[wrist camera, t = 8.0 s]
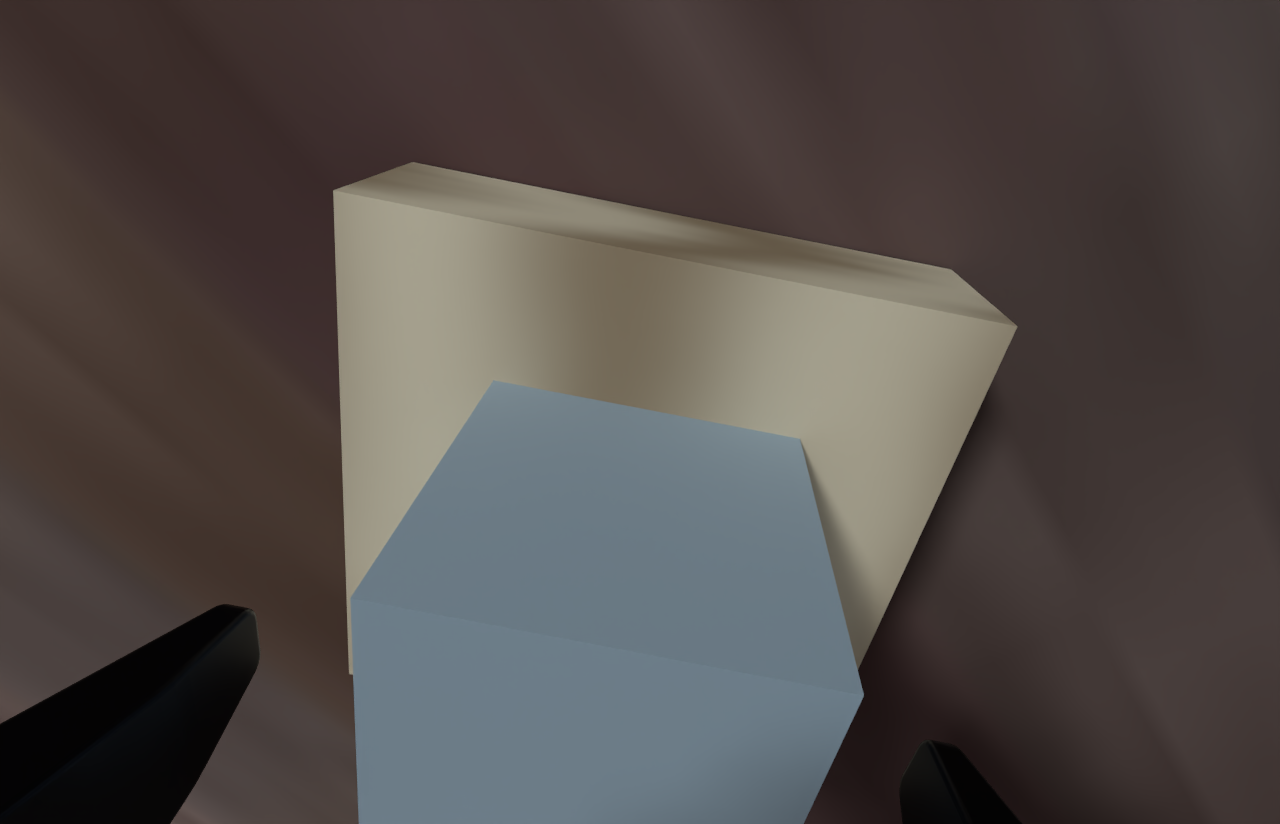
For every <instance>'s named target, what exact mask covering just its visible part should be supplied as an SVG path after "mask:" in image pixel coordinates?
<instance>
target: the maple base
mask: <svg viewBox="0 0 1280 824" xmlns="http://www.w3.org/2000/svg"><path fill="white" fill-rule="evenodd" d="M333 195H334V225H335V256H336V286H337V317H338V347H339V378H340V408H341V439H342V469H343V500H344V530H345V561H346V591H347V622H348V652H349V674H352V675H353V654H352V628H351V601H350V598H351V596H352V595H353V593H354V592H355V590H356V589H357V587H358V586H359V584H360V583H361V581H362V580H363V578H364V577H365V575H366V574H367V572H368V570H369V569H370V567H371V566H372V564H373V563H374V561H375V560H376V558H377V557H378V555H379V554H380V552H381V551H382V549H383V548H384V546H385V545H386V543H387V542H388V540H389V538H390V537H391V535H392V534H393V532H394V531H395V529H396V528H397V526H398V525H399V523H400V522H401V520H402V519H403V517H404V516H405V514H406V513H407V511H408V510H409V508H410V507H411V505H412V503H413V502H414V500H415V499H416V497H417V496H418V494H419V493H420V491H421V490H422V488H423V487H424V485H425V484H426V482H427V481H428V479H429V478H430V476H431V475H432V473H433V472H434V470H435V468H436V467H437V465H438V464H439V462H440V461H441V459H442V458H443V456H444V455H445V453H446V452H447V450H448V449H449V447H450V446H451V444H452V443H453V441H454V440H455V438H456V437H457V435H458V433H459V432H460V430H461V429H462V427H463V426H464V424H465V423H466V421H467V420H468V418H469V417H470V415H471V414H472V412H473V411H474V409H475V408H476V406H477V405H478V403H479V401H480V400H481V398H482V397H483V395H484V394H485V392H486V391H487V389H488V388H489V386H490V385H491V383H492V382H493V380H495V381H500V382H505V383H511V384H516V385H521V386H526V387H532V388H537V389H542V390H547V391H552V392H558V393H563V394H568V395H573V396H579V397H584V398H589V399H594V400H599V401H605V402H610V403H615V404H620V405H626V406H631V407H636V408H641V409H647V410H652V411H657V412H662V413H667V414H673V415H678V416H683V417H688V418H694V419H699V420H704V421H709V422H715V423H720V424H725V425H730V426H735V427H741V428H746V429H751V430H756V431H762V432H767V433H772V434H777V435H782V436H788V437H793V438H798V439H800V441H801V445H802V449H803V453H804V457H805V461H806V465H807V469H808V473H809V477H810V481H811V485H812V489H813V493H814V497H815V501H816V505H817V509H818V513H819V517H820V521H821V525H822V529H823V533H824V537H825V541H826V545H827V549H828V553H829V557H830V561H831V565H832V569H833V573H834V577H835V581H836V585H837V589H838V593H839V597H840V601H841V605H842V609H843V613H844V617H845V621H846V625H847V629H848V633H849V637H850V641H851V645H852V649H853V653H854V657H855V661H856V665H857V669H859V667H860V664H861V662H862V660H863V658H864V656H865V654H866V651H867V649H868V647H869V645H870V643H871V641H872V639H873V636H874V634H875V632H876V630H877V628H878V626H879V623H880V621H881V619H882V617H883V615H884V613H885V611H886V608H887V606H888V604H889V602H890V600H891V598H892V595H893V593H894V591H895V589H896V587H897V585H898V583H899V580H900V578H901V576H902V574H903V572H904V570H905V567H906V565H907V563H908V561H909V559H910V557H911V555H912V552H913V550H914V548H915V546H916V544H917V542H918V539H919V537H920V535H921V533H922V531H923V529H924V527H925V524H926V522H927V520H928V518H929V516H930V514H931V512H932V509H933V507H934V505H935V503H936V501H937V499H938V496H939V494H940V492H941V490H942V488H943V486H944V484H945V481H946V479H947V477H948V475H949V473H950V471H951V468H952V466H953V464H954V462H955V460H956V458H957V456H958V453H959V451H960V449H961V447H962V445H963V443H964V440H965V438H966V436H967V434H968V432H969V430H970V428H971V425H972V423H973V421H974V419H975V417H976V415H977V412H978V410H979V408H980V406H981V404H982V402H983V400H984V397H985V395H986V393H987V391H988V389H989V387H990V384H991V382H992V380H993V378H994V376H995V374H996V372H997V369H998V367H999V365H1000V363H1001V361H1002V359H1003V357H1004V354H1005V352H1006V350H1007V348H1008V346H1009V344H1010V341H1011V339H1012V337H1013V335H1014V333H1015V331H1016V329H1017V326H1016V325H1015V324H1014V323H1013V322H1012V321H1011V320H1009V319H1008V318H1007V317H1006V316H1005V315H1004V314H1002V313H1001V312H1000V311H999V310H998V309H997V308H995V307H994V306H993V305H992V304H991V303H990V302H988V301H987V300H986V299H985V298H984V297H983V296H981V295H980V294H979V293H978V292H977V291H976V290H974V289H973V288H972V287H971V286H970V285H969V284H967V283H966V282H965V281H964V280H963V279H962V278H960V277H959V276H958V275H957V274H956V273H955V272H954V271H952V270H951V269H946V268H941V267H936V266H931V265H926V264H921V263H916V262H911V261H906V260H901V259H896V258H891V257H886V256H881V255H876V254H871V253H866V252H861V251H856V250H851V249H846V248H841V247H836V246H831V245H826V244H821V243H816V242H811V241H806V240H801V239H796V238H791V237H786V236H781V235H775V234H770V233H765V232H760V231H755V230H750V229H745V228H740V227H735V226H730V225H725V224H720V223H715V222H710V221H705V220H700V219H695V218H690V217H685V216H680V215H675V214H670V213H665V212H660V211H655V210H650V209H645V208H640V207H635V206H630V205H625V204H620V203H615V202H610V201H605V200H600V199H595V198H590V197H585V196H580V195H575V194H570V193H565V192H560V191H555V190H550V189H545V188H540V187H535V186H530V185H525V184H520V183H515V182H510V181H505V180H499V179H494V178H489V177H484V176H479V175H474V174H469V173H464V172H459V171H454V170H449V169H444V168H439V167H434V166H429V165H424V164H419V163H414V162H412V163H409V164H406V165H403V166H401V167H398V168H395V169H392V170H389V171H387V172H384V173H381V174H378V175H375V176H372V177H370V178H367V179H364V180H361V181H358V182H356V183H353V184H350V185H347V186H344V187H342V188H339V189H336V190H333Z"/></svg>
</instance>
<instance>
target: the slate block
mask: <svg viewBox="0 0 1280 824" xmlns="http://www.w3.org/2000/svg"><path fill="white" fill-rule="evenodd" d="M350 601H351V628H352V654H353V680H354V706H355V733H356V759H357V785H358V812H359V824H804V822H805V820H806V817H807V815H808V813H809V811H810V809H811V807H812V805H813V803H814V800H815V798H816V796H817V794H818V792H819V790H820V788H821V786H822V784H823V781H824V779H825V777H826V775H827V773H828V771H829V769H830V767H831V764H832V762H833V760H834V758H835V756H836V754H837V752H838V750H839V748H840V745H841V743H842V741H843V739H844V737H845V735H846V733H847V731H848V728H849V726H850V724H851V722H852V720H853V718H854V716H855V714H856V712H857V709H858V707H859V705H860V703H861V701H862V699H863V697H864V693H863V689H862V685H861V681H860V677H859V673H858V669H857V665H856V661H855V657H854V653H853V649H852V645H851V641H850V637H849V633H848V629H847V625H846V621H845V617H844V613H843V609H842V605H841V601H840V597H839V593H838V589H837V585H836V581H835V577H834V573H833V569H832V565H831V561H830V557H829V553H828V549H827V545H826V541H825V537H824V533H823V529H822V525H821V521H820V517H819V513H818V509H817V505H816V501H815V497H814V493H813V489H812V485H811V481H810V477H809V473H808V469H807V465H806V461H805V457H804V453H803V449H802V445H801V441H800V439H798V438H793V437H788V436H782V435H777V434H772V433H767V432H762V431H756V430H751V429H746V428H741V427H735V426H730V425H725V424H720V423H715V422H709V421H704V420H699V419H694V418H688V417H683V416H678V415H673V414H667V413H662V412H657V411H652V410H647V409H641V408H636V407H631V406H626V405H620V404H615V403H610V402H605V401H599V400H594V399H589V398H584V397H579V396H573V395H568V394H563V393H558V392H552V391H547V390H542V389H537V388H532V387H526V386H521V385H516V384H511V383H505V382H500V381H495V380H493V382H492V383H491V385H490V386H489V388H488V389H487V391H486V392H485V394H484V395H483V397H482V398H481V400H480V401H479V403H478V405H477V406H476V408H475V409H474V411H473V412H472V414H471V415H470V417H469V418H468V420H467V421H466V423H465V424H464V426H463V427H462V429H461V430H460V432H459V433H458V435H457V437H456V438H455V440H454V441H453V443H452V444H451V446H450V447H449V449H448V450H447V452H446V453H445V455H444V456H443V458H442V459H441V461H440V462H439V464H438V465H437V467H436V468H435V470H434V472H433V473H432V475H431V476H430V478H429V479H428V481H427V482H426V484H425V485H424V487H423V488H422V490H421V491H420V493H419V494H418V496H417V497H416V499H415V500H414V502H413V503H412V505H411V507H410V508H409V510H408V511H407V513H406V514H405V516H404V517H403V519H402V520H401V522H400V523H399V525H398V526H397V528H396V529H395V531H394V532H393V534H392V535H391V537H390V538H389V540H388V542H387V543H386V545H385V546H384V548H383V549H382V551H381V552H380V554H379V555H378V557H377V558H376V560H375V561H374V563H373V564H372V566H371V567H370V569H369V570H368V572H367V574H366V575H365V577H364V578H363V580H362V581H361V583H360V584H359V586H358V587H357V589H356V590H355V592H354V593H353V595H352V596H351V598H350Z"/></svg>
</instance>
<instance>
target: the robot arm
mask: <svg viewBox="0 0 1280 824" xmlns="http://www.w3.org/2000/svg"><path fill="white" fill-rule="evenodd" d="M259 660H260V643H259V635H258V626H257V618H256V614H255V613H254V611H253V610H252V609H249V608H245V607H239V606H234V605H229V604H222V605H219V606H216V607H214V608H212V609H210V610H208V611H206V612H205V613H203V614H201V615H199V616H197V617H195V618H194V619H192V620H190V621H188V622H186V623H184V624H183V625H181V626H179V627H177V628H175V629H173V630H172V631H170V632H168V633H166V634H164V635H162V636H160V637H159V638H157V639H155V640H153V641H151V642H149V643H148V644H146V645H144V646H142V647H140V648H138V649H137V650H135V651H133V652H131V653H129V654H127V655H126V656H124V657H122V658H120V659H118V660H116V661H115V662H113V663H111V664H109V665H107V666H105V667H104V668H102V669H100V670H98V671H96V672H94V673H93V674H91V675H89V676H87V677H85V678H83V679H82V680H80V681H78V682H76V683H74V684H72V685H71V686H69V687H67V688H65V689H63V690H61V691H60V692H58V693H56V694H54V695H52V696H50V697H49V698H47V699H45V700H43V701H41V702H39V703H38V704H36V705H34V706H32V707H30V708H28V709H27V710H25V711H23V712H21V713H19V714H17V715H16V716H14V717H12V718H10V719H8V720H6V721H5V722H3V723H1V724H0V824H170V823H171V822H172V820H173V819H174V817H175V816H176V814H177V812H178V811H179V809H180V808H181V806H182V805H183V803H184V802H185V800H186V799H187V797H188V795H189V794H190V792H191V791H192V789H193V787H194V786H195V784H196V782H197V781H198V779H199V777H200V775H201V773H202V772H203V770H204V768H205V766H206V764H207V763H208V761H209V759H210V757H211V755H212V753H213V751H214V749H215V747H216V745H217V744H218V742H219V740H220V738H221V736H222V734H223V732H224V730H225V728H226V726H227V725H228V723H229V721H230V719H231V717H232V715H233V713H234V711H235V709H236V707H237V706H238V704H239V702H240V700H241V698H242V696H243V694H244V692H245V690H246V688H247V687H248V685H249V683H250V681H251V679H252V677H253V675H254V673H255V671H256V669H257V666H258V664H259ZM900 803H901V813H902V822H903V824H1022V823H1021V821H1020V820H1019V819H1018V818H1017V817H1016V816H1015V814H1014V813H1013V812H1012V811H1011V810H1010V808H1009V807H1008V806H1007V805H1006V804H1005V802H1004V801H1003V800H1002V799H1001V798H1000V796H999V795H998V794H997V793H996V792H995V790H994V789H993V788H992V787H991V786H990V784H989V783H988V782H987V781H986V780H985V778H984V777H983V776H982V775H981V774H980V772H979V771H978V770H977V769H976V768H975V766H974V765H973V764H972V763H971V762H970V760H969V759H968V758H967V757H966V756H965V754H964V753H963V752H962V751H961V750H960V749H959V748H958V747H956V746H955V745H952V744H949V743H944V742H939V741H933V740H925V741H923V742H922V743H921V744H920V745H919V747H918V749H917V750H916V752H915V754H914V756H913V757H912V759H911V761H910V763H909V765H908V766H907V768H906V770H905V772H904V773H903V776H902V778H901V782H900Z"/></svg>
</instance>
